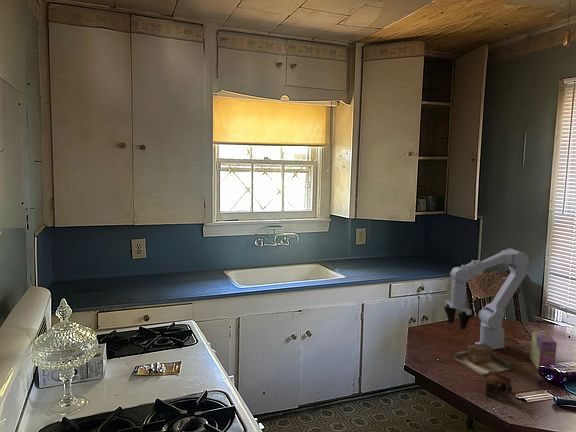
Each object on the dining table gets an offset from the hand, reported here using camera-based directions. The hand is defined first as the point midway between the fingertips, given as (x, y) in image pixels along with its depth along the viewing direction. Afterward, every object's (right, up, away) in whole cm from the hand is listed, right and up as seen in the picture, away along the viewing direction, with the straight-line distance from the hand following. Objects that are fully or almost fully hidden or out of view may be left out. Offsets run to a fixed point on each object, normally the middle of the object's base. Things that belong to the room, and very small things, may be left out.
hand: (457, 325), depth 196 cm
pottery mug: (0, -14, -39) cm, 42 cm away
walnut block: (+3, -11, -15) cm, 18 cm away
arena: (+4, -11, -16) cm, 20 cm away
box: (+27, -12, -17) cm, 34 cm away
